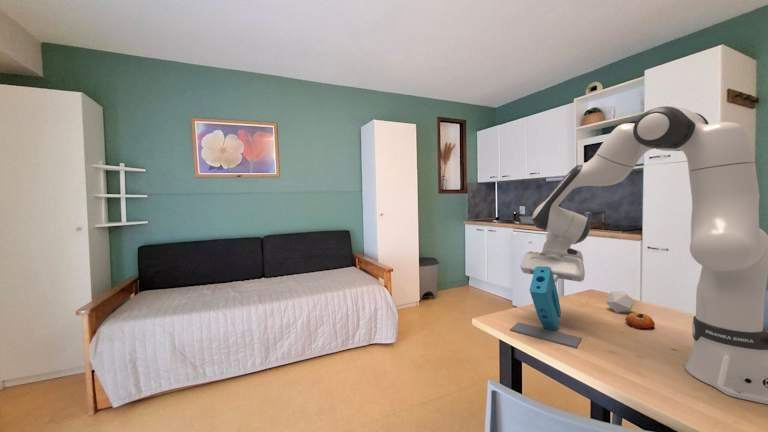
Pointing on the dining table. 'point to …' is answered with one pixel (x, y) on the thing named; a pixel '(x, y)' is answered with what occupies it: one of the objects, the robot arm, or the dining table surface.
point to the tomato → (639, 320)
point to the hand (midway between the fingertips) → (547, 285)
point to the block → (545, 297)
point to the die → (620, 302)
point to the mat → (547, 334)
